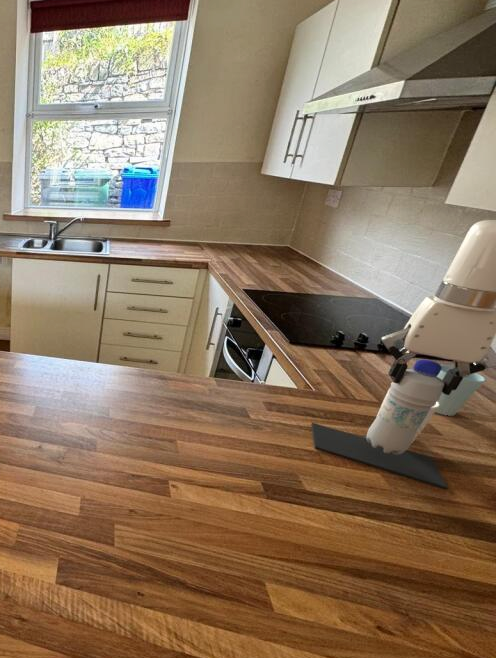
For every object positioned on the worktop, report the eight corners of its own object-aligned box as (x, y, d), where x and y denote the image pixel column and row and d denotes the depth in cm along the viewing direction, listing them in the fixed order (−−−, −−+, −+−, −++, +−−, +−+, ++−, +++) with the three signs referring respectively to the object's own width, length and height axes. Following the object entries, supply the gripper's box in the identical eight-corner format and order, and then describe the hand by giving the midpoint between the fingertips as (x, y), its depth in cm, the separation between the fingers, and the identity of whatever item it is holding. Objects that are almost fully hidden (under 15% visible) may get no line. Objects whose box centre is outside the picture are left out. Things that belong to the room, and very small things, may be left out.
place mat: (431, 458, 83) (432, 457, 82) (447, 489, 75) (448, 487, 75) (311, 424, 92) (312, 422, 92) (314, 448, 85) (315, 446, 85)
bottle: (360, 432, 86) (402, 349, 78) (402, 444, 83) (451, 359, 74) (364, 449, 81) (409, 363, 73) (409, 463, 78) (462, 374, 70)
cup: (471, 421, 95) (495, 383, 90) (432, 416, 96) (454, 378, 92) (445, 403, 101) (467, 367, 97) (409, 398, 103) (429, 363, 99)
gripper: (534, 300, 67) (476, 391, 74) (395, 281, 75) (356, 364, 83) (558, 313, 61) (492, 410, 69) (405, 291, 70) (362, 380, 77)
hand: (418, 384), depth 76 cm, fingers closed on bottle, 6 cm apart
